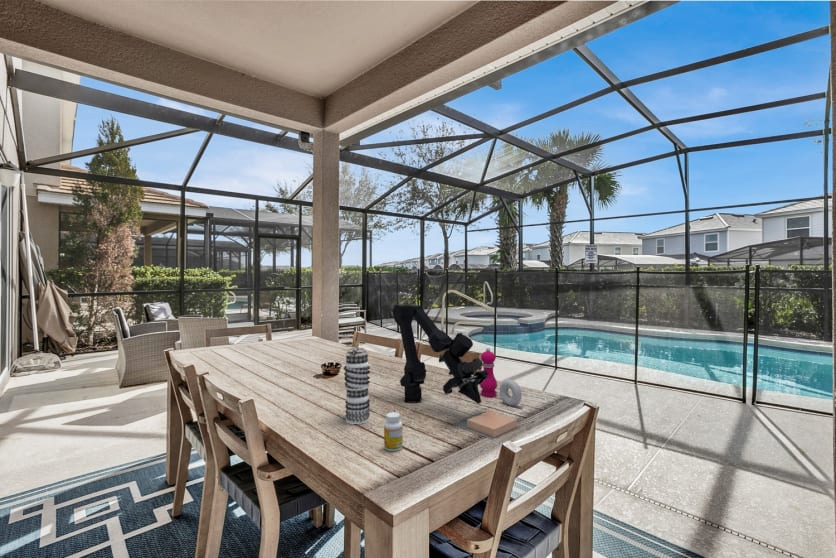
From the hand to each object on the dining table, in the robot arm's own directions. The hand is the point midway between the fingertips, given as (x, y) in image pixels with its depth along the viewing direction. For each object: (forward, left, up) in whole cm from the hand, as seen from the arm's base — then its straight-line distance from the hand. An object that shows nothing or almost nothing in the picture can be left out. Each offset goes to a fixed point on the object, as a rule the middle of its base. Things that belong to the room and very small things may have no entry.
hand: (479, 402), depth 128 cm
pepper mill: (+9, +31, -7) cm, 33 cm away
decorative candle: (-42, +5, -7) cm, 43 cm away
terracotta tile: (0, 0, -5) cm, 6 cm away
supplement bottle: (-28, -17, -7) cm, 34 cm away
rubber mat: (+2, -2, -7) cm, 8 cm away
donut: (+15, +18, -7) cm, 25 cm away
